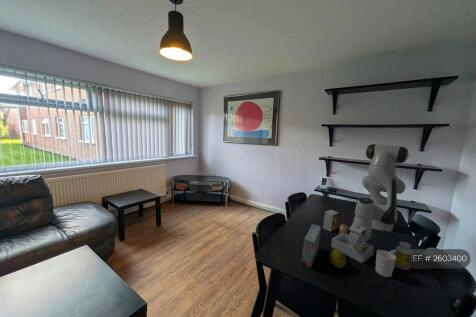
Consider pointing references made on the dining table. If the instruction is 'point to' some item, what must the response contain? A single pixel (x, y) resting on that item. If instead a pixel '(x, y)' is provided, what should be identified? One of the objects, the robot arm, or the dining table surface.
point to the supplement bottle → (403, 255)
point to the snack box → (311, 246)
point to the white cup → (385, 263)
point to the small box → (330, 220)
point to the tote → (351, 248)
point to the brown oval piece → (343, 229)
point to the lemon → (337, 258)
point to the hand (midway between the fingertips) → (359, 248)
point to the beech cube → (361, 248)
